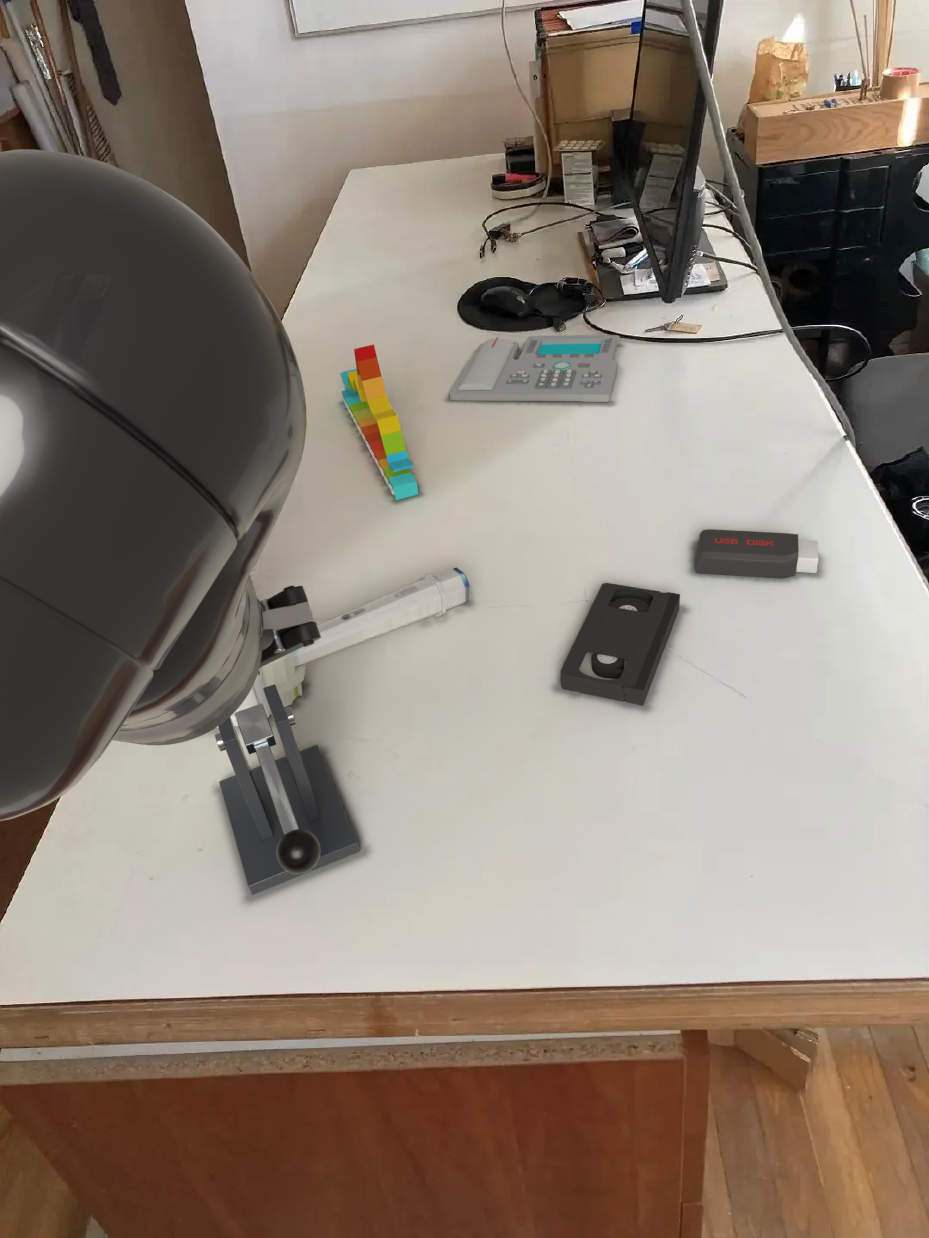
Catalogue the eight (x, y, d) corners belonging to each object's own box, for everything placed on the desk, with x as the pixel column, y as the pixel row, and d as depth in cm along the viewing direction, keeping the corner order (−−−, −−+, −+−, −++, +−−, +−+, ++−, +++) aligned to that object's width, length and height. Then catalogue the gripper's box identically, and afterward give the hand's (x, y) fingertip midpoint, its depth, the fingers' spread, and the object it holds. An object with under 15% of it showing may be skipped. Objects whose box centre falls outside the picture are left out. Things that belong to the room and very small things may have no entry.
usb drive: (698, 544, 102) (699, 523, 100) (814, 551, 98) (818, 529, 97) (695, 573, 98) (696, 551, 96) (816, 580, 95) (819, 558, 93)
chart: (342, 403, 138) (321, 304, 129) (363, 398, 139) (344, 299, 129) (394, 501, 115) (373, 389, 106) (418, 494, 116) (400, 383, 106)
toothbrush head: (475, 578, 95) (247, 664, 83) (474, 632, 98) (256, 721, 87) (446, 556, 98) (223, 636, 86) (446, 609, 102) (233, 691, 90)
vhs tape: (603, 597, 96) (602, 581, 95) (679, 609, 94) (680, 594, 92) (559, 688, 87) (558, 673, 85) (643, 705, 84) (643, 689, 82)
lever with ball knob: (327, 867, 69) (325, 859, 66) (286, 884, 68) (282, 877, 65) (272, 712, 73) (268, 698, 71) (232, 726, 73) (226, 713, 70)
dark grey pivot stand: (360, 851, 75) (328, 742, 67) (252, 895, 73) (205, 788, 65) (320, 753, 84) (287, 646, 76) (222, 789, 81) (178, 684, 73)
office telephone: (447, 385, 133) (479, 328, 148) (449, 402, 135) (481, 344, 150) (609, 385, 127) (626, 326, 142) (609, 403, 129) (626, 342, 144)
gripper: (298, 470, 33) (290, 569, 50) (-97, 587, 30) (37, 650, 47) (370, 669, 32) (337, 701, 49) (-25, 809, 29) (84, 792, 46)
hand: (191, 676), depth 48 cm, fingers closed
